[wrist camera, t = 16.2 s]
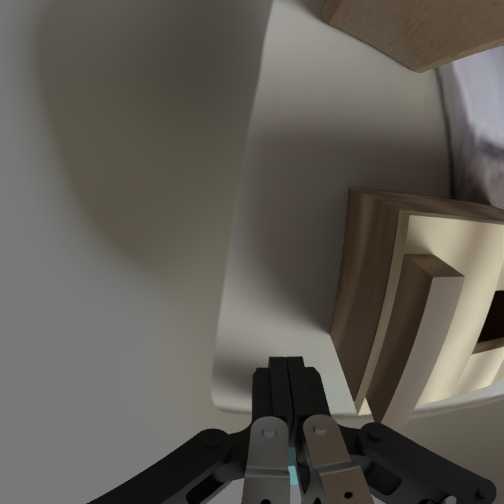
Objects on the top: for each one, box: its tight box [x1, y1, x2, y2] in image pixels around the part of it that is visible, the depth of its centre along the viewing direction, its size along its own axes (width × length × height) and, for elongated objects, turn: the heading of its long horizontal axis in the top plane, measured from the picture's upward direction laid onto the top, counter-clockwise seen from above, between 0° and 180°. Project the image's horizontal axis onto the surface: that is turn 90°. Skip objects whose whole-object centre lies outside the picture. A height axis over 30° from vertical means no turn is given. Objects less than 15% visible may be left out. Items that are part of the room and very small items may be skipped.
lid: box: [354, 210, 504, 428], centre depth 14 cm, size 17×14×4 cm
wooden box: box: [330, 188, 504, 402], centre depth 21 cm, size 17×14×9 cm
